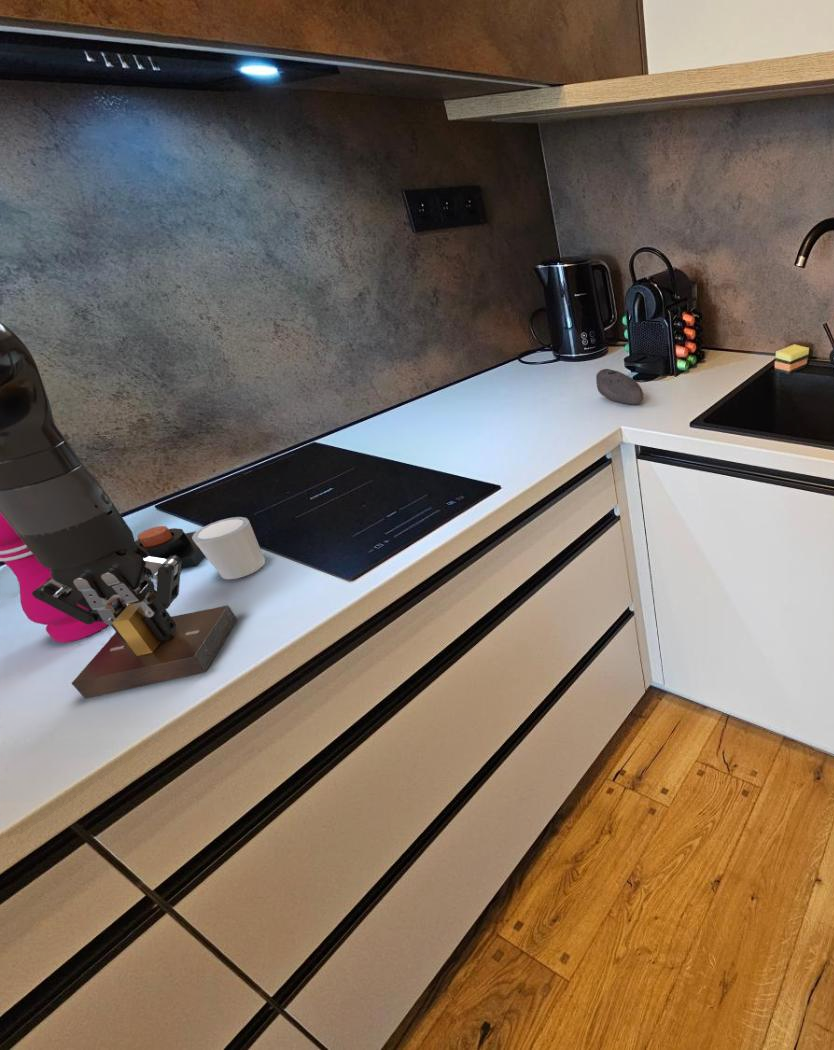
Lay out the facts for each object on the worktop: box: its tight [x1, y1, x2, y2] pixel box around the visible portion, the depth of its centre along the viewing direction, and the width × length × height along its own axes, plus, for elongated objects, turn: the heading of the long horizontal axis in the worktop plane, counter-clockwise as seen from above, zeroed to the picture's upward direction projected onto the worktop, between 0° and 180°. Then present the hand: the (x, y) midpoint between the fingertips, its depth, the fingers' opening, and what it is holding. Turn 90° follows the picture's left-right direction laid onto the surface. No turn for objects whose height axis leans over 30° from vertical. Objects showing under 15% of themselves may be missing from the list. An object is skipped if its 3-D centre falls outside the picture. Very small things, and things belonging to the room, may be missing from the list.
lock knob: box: [112, 604, 161, 656], centre depth 68 cm, size 5×2×5 cm, turn 16°
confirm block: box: [135, 527, 206, 576], centre depth 90 cm, size 11×9×4 cm
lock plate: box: [71, 604, 238, 699], centre depth 70 cm, size 12×10×3 cm
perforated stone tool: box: [595, 368, 644, 406], centre depth 139 cm, size 15×5×7 cm, turn 44°
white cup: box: [192, 516, 266, 580], centre depth 85 cm, size 7×7×7 cm
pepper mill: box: [0, 513, 109, 643], centre depth 72 cm, size 7×7×20 cm
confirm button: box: [137, 525, 173, 547], centre depth 89 cm, size 4×4×2 cm
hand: (154, 638), depth 70 cm, fingers closed
